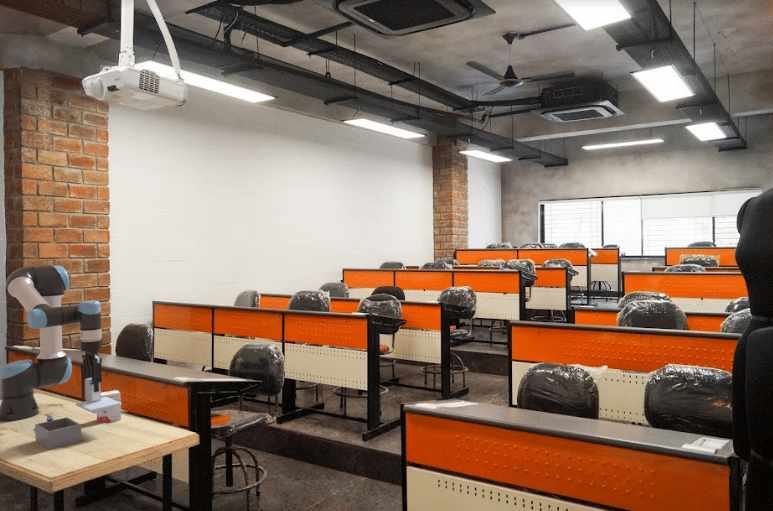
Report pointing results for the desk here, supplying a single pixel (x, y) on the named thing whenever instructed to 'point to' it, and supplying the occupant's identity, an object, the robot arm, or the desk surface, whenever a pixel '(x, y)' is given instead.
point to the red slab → (49, 418)
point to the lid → (96, 405)
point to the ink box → (113, 413)
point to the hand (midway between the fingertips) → (93, 398)
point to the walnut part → (54, 428)
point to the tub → (58, 433)
